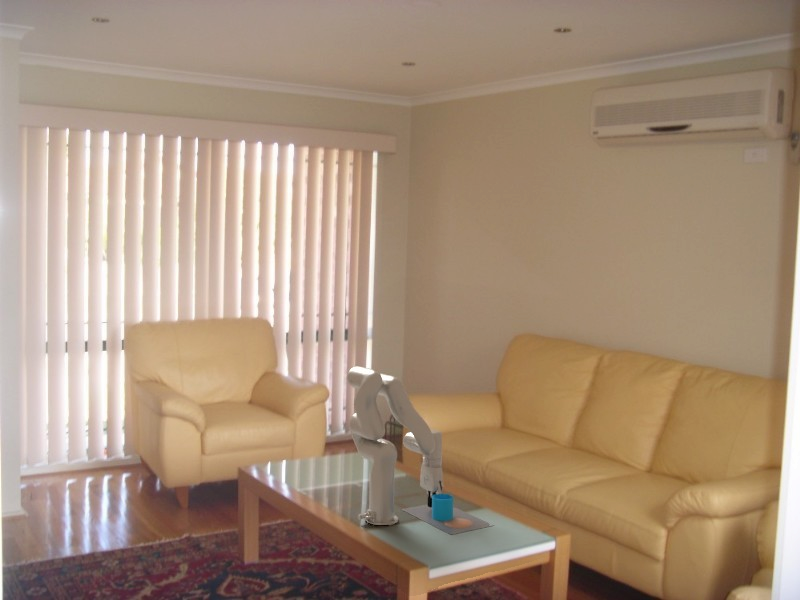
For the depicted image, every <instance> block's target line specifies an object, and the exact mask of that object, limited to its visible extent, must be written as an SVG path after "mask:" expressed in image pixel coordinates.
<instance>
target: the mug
mask: <svg viewBox="0 0 800 600" xmlns="http://www.w3.org/2000/svg"><path fill="white" fill-rule="evenodd" d="M453 507H454V496H453V495H451V494H449V493H441V494H435V495H433V496H432V518H433V519H435V520H438V521H448V520H451V519H453Z"/></svg>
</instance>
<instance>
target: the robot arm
mask: <svg viewBox="0 0 800 600" xmlns="http://www.w3.org/2000/svg"><path fill="white" fill-rule="evenodd" d="M346 375H347V377H346V379H347V383H348V385H349V386H351V388H353V389H357V391H356V394H355V397H354V401H353V409H354V412H355V413H353V414H352V416H351V417H350V419H349V422H348V427H349V432H350V434H351V438H352V440H353V442H354V445H355V447H356V449H357V452H358V455H359V456H361V457H362V458H363V459H364V460H367V461H369V462H372V466H371V468H370V472H369V477H368V479H369V481H368V482H369V484H368V485H369V493H368V495H369V498H368V501H369V502H368V503H369V505H368V509H366V512H364V513H358V514H357V519H358V520H363V519H364V521H365V520H366V521H367V522H369V523H372V524H377V525H389V526H393V525H395V523H396V524H397V523H398V521H399V517H398V515H395V470H396V463H397V459H398V450H397V448H396V446H395V444H394V443H392V442H391V441H389V440H388V439H385V438H383V437H384V436H385V433H386V428H385V424H384V421H383V418H382V416H381V413H380V411H379V408H378V404H377V397H378V396H382V397H384V399H385V401H386V403H387V406H388V407H389V409H390V412H391V414H392V416H393V418H394V419H395V420H396V421H397V422H398V423H399V424H400V425H402V426H403V427H405V428H406V429H407V430H408V431H409V432H407V433H406V434H405V435H404V436H403V439H402V443H403V446H404V447H405V448H406V449H407V450H409V451H411V452H415V453H418V454H421V455H422V463H421V467H420V477H419V485H420V487H421V488H422V489H423V490H424V491H425V492H426V496H427V504H428V507H430V508H431V507H432V496H433V495H435V494H442V491H443V490H444V473H443V466H442V465H443V456H442V455H443V433H442V432H441V431H440V430H437V429H431V428H430V426H429V425H428V423H427V422H426V420H425V419H424V418H423V417H422V415H420V413H419V412H418V411H417V410H416V409H415V408H414V406H413V403H412V401H411V399H410V397H409V395H408V393H407V389H406V388H405V385H404V383H403V382H402V379H400V378H399V377H397V376H394V375H390V374H385V373H381V372H379V371H377V370H375V369H371V368H367V367H365V366H364V367H363V366H360V365H359V366H357V365H356V366H354V367H352V368H351V369H350V370H349V371H348V373H347V374H346Z"/></svg>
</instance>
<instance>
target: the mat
mask: <svg viewBox="0 0 800 600" xmlns="http://www.w3.org/2000/svg"><path fill="white" fill-rule="evenodd" d="M400 510H401V511H403V512H404V513H407V514H409V515H411V516H413V517H415V518H417V519H418V520H421V521H423V522H425V523H427V524H429V525H431V526H433V527H434V528H437V529H438V530H441V531H443V532H444V533H447V534H448V535H450V536H452V535H457V534H461V533H466V531H467V532H471V531H475V530H479V529H483V528H484V529H485V528H489V527H490V526H489V525H490V524H491V523H490V524H489V522H487V521H485V520H484V519H481V518H479V517H477V516H475V515H472V514H470V513H468V512H466V511H464V510H461V509H459V508H457V507H454V506H453V519H451V520H448V521H438V520H435V519H433V518H432V507H431V508H430V507H428V503H426V504H422V505H420V504H419V505H417V506H416V505H415V506H410V507H406V508H401V509H400Z"/></svg>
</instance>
